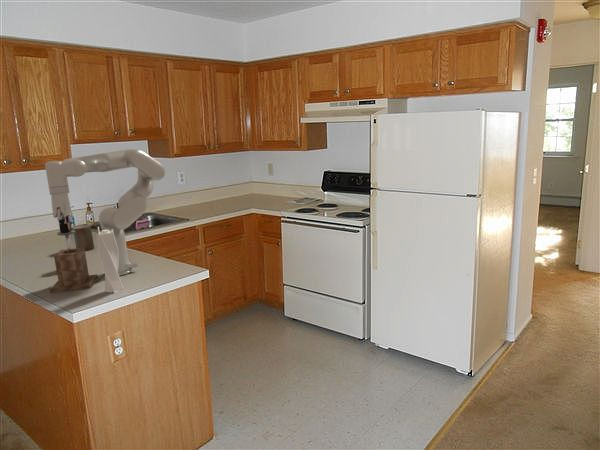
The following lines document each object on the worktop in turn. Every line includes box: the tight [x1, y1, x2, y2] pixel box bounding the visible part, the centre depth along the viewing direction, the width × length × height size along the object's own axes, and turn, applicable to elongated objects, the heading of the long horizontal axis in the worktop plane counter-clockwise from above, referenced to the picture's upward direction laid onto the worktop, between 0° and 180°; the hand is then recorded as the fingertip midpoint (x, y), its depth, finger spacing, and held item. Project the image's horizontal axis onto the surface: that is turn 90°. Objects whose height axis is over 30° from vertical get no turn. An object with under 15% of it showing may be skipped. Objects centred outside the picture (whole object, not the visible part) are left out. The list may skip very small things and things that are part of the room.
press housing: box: [49, 247, 99, 293], centre depth 204 cm, size 16×15×16 cm
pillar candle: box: [72, 224, 95, 252], centre depth 267 cm, size 10×10×15 cm
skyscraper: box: [97, 226, 125, 294], centre depth 193 cm, size 8×8×28 cm
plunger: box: [57, 222, 75, 253], centre depth 202 cm, size 7×7×18 cm
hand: (66, 231), depth 201 cm, fingers closed on plunger, 3 cm apart
